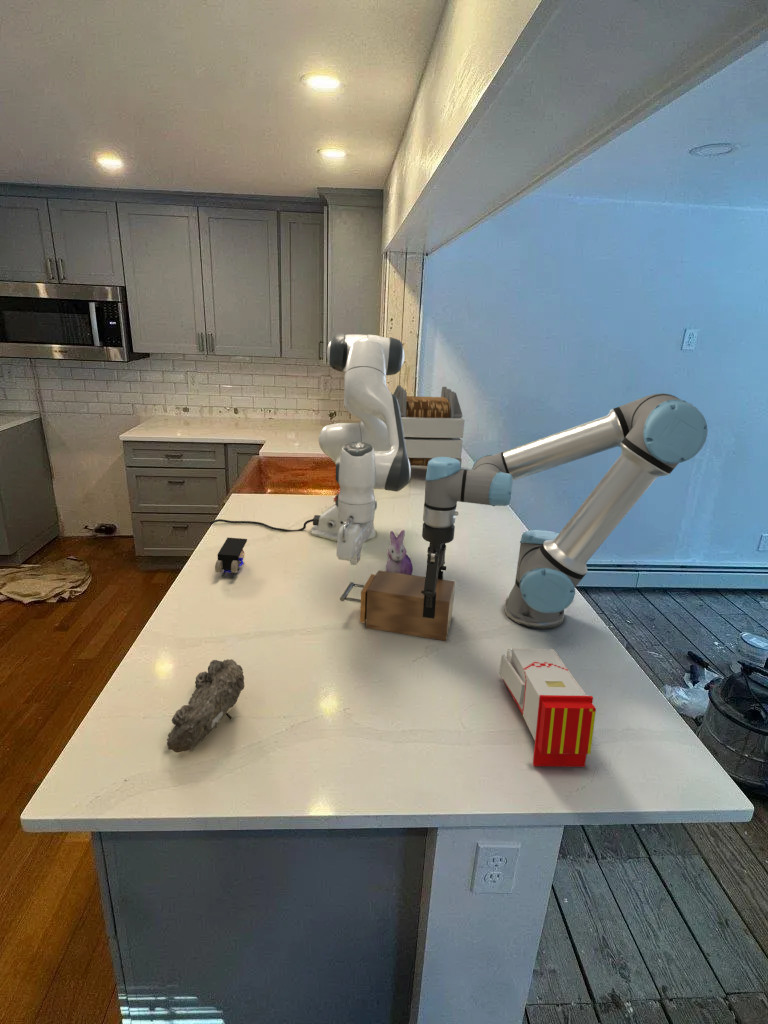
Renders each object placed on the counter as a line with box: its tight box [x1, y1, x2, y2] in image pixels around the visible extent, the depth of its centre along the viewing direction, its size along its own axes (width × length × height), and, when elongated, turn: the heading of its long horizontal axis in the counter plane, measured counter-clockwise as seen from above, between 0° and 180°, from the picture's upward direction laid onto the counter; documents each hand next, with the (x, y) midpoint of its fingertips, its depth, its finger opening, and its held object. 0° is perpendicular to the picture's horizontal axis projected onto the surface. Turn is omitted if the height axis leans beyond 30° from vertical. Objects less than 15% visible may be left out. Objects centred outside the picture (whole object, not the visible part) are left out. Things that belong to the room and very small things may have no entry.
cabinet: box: [365, 570, 456, 642], centre depth 142 cm, size 20×11×11 cm, turn 77°
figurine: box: [385, 529, 414, 575], centre depth 164 cm, size 9×10×15 cm
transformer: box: [392, 384, 465, 467], centre depth 268 cm, size 34×33×41 cm
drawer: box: [339, 573, 376, 624], centre depth 143 cm, size 24×10×8 cm, turn 77°
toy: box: [499, 648, 597, 768], centre depth 111 cm, size 12×13×30 cm
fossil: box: [166, 658, 245, 754], centre depth 106 cm, size 22×10×15 cm
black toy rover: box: [214, 537, 248, 578], centre depth 166 cm, size 7×8×15 cm
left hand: (354, 562), depth 142 cm, fingers closed
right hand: (432, 605), depth 141 cm, fingers closed on cabinet, 11 cm apart
